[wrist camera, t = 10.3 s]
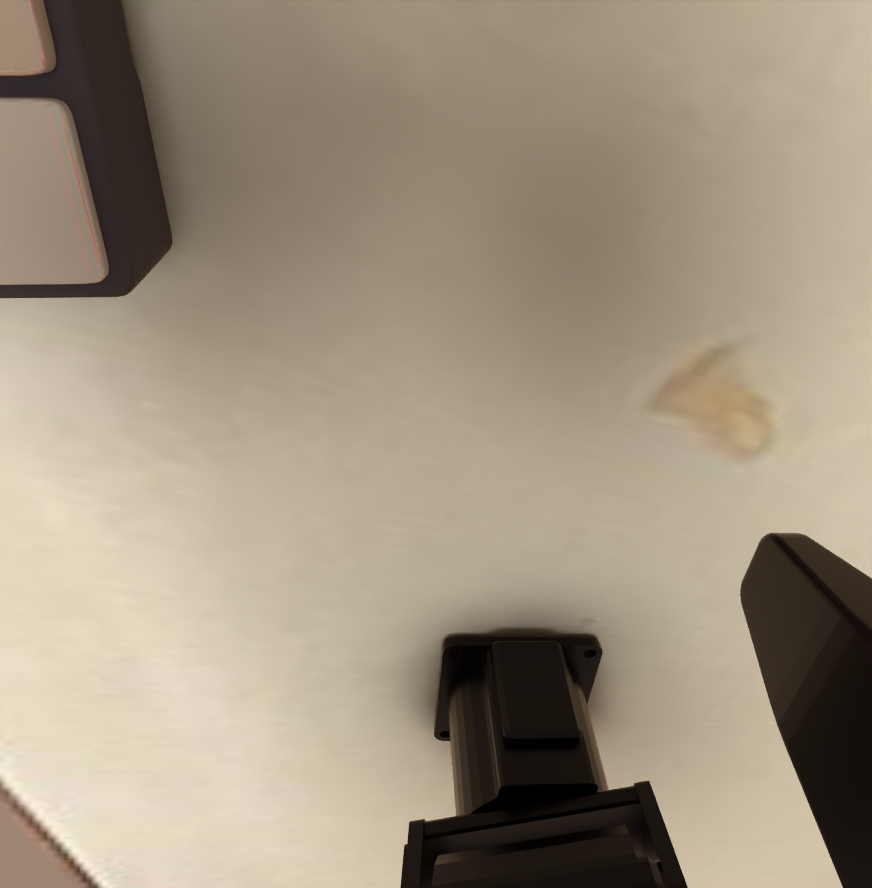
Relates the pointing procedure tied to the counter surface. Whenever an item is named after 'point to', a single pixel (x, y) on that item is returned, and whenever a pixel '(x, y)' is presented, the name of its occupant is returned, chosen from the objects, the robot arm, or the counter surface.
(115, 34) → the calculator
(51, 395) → the counter surface
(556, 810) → the robot arm
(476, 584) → the counter surface
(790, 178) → the counter surface
